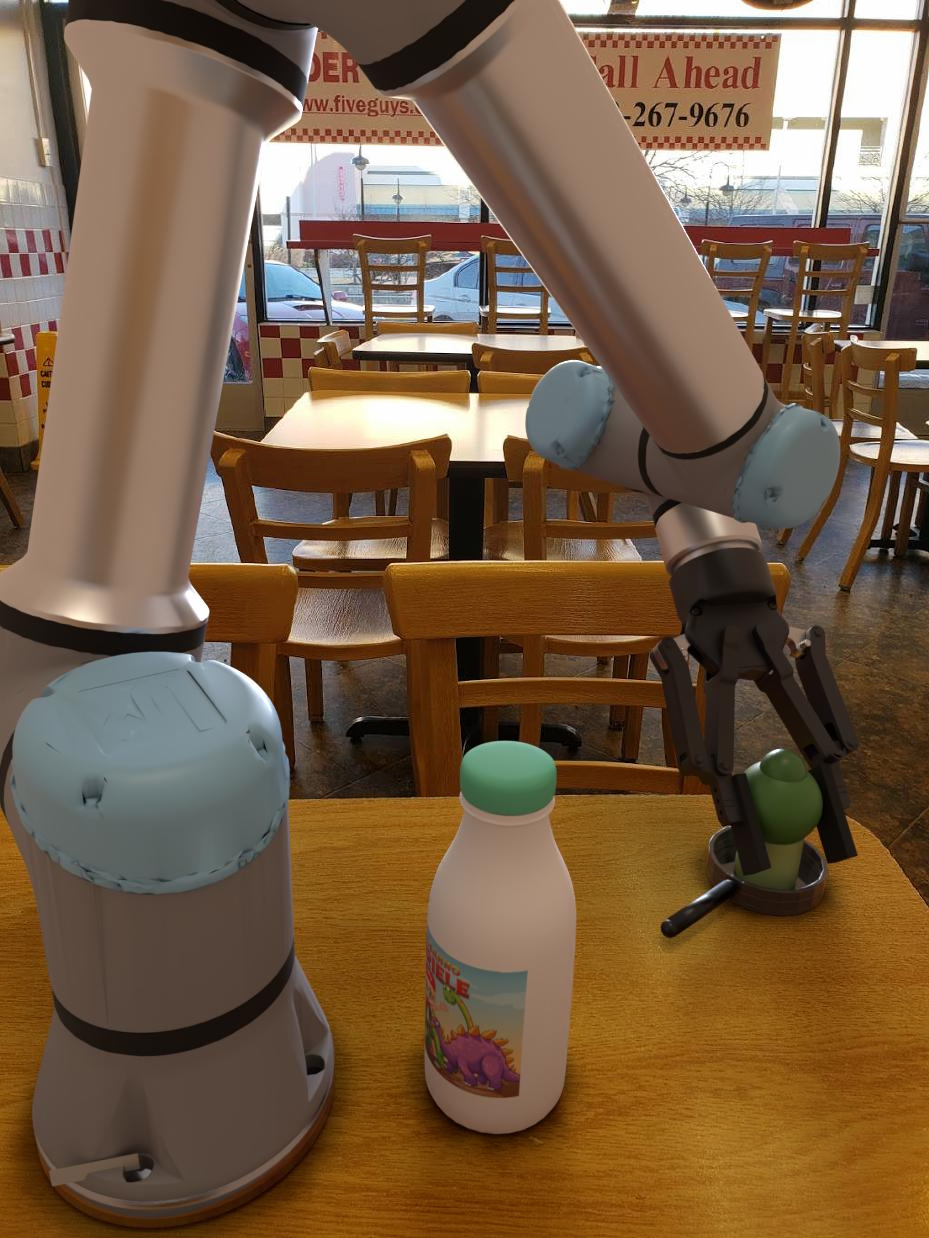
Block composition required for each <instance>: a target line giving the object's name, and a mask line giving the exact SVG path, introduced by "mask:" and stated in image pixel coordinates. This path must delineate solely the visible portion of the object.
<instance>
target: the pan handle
mask: <svg viewBox="0 0 929 1238" xmlns="http://www.w3.org/2000/svg"><path fill="white" fill-rule="evenodd" d="M736 893H737V885H736V883H735V882H734V881H732V880H724V881H723V882H721V883H720V884H718V885H717V886H715V887H712V888H711V889H709V890H708V891H706V892H705V893H703V894H702V895H700V896H699V897H697V898H695V899H694V900H693V901H691V902H690V903H687V904H686V905H685V906H683V907H682V908H681V909H679V910H678V911H676V912H675V913H673V914H672V915H670V916H668V917H667V918H666V919H664V920H662V922H661V924H660V932H661V934H662V935H663V936H664V937H666V938H668V939H674V938H676V937H677V936H679V935H680V934H682V933H684V931H686V930H687V929H689V928H690V927H691V926H693V925H695V924H696V923H697V922H699V921H700V920H701V919H703V918H704V917H706V916H707V915H709V914H710V913H712V912H714V911H715V910H716V909H718V908H719V907H721V906H722V905H723V904H725V903H726V902H728V901H729V899H730V898H732V897H733V896H735V895H736Z"/></svg>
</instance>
